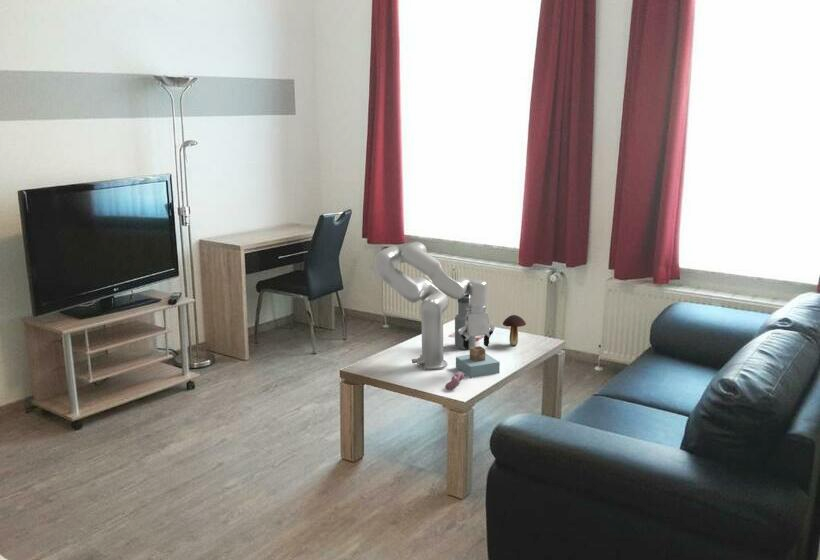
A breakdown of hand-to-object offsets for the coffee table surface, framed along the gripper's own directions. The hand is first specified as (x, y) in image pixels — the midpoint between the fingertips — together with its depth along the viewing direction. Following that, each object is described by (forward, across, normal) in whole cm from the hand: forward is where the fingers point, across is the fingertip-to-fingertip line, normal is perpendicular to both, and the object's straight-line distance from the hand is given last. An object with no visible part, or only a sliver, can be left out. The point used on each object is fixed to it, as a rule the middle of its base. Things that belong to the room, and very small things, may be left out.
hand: (476, 346), depth 320 cm
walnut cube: (+6, +1, 0) cm, 6 cm away
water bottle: (+11, +11, +30) cm, 34 cm away
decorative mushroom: (+11, +33, +22) cm, 41 cm away
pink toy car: (+11, -16, -13) cm, 24 cm away
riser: (+11, +1, -1) cm, 11 cm away
